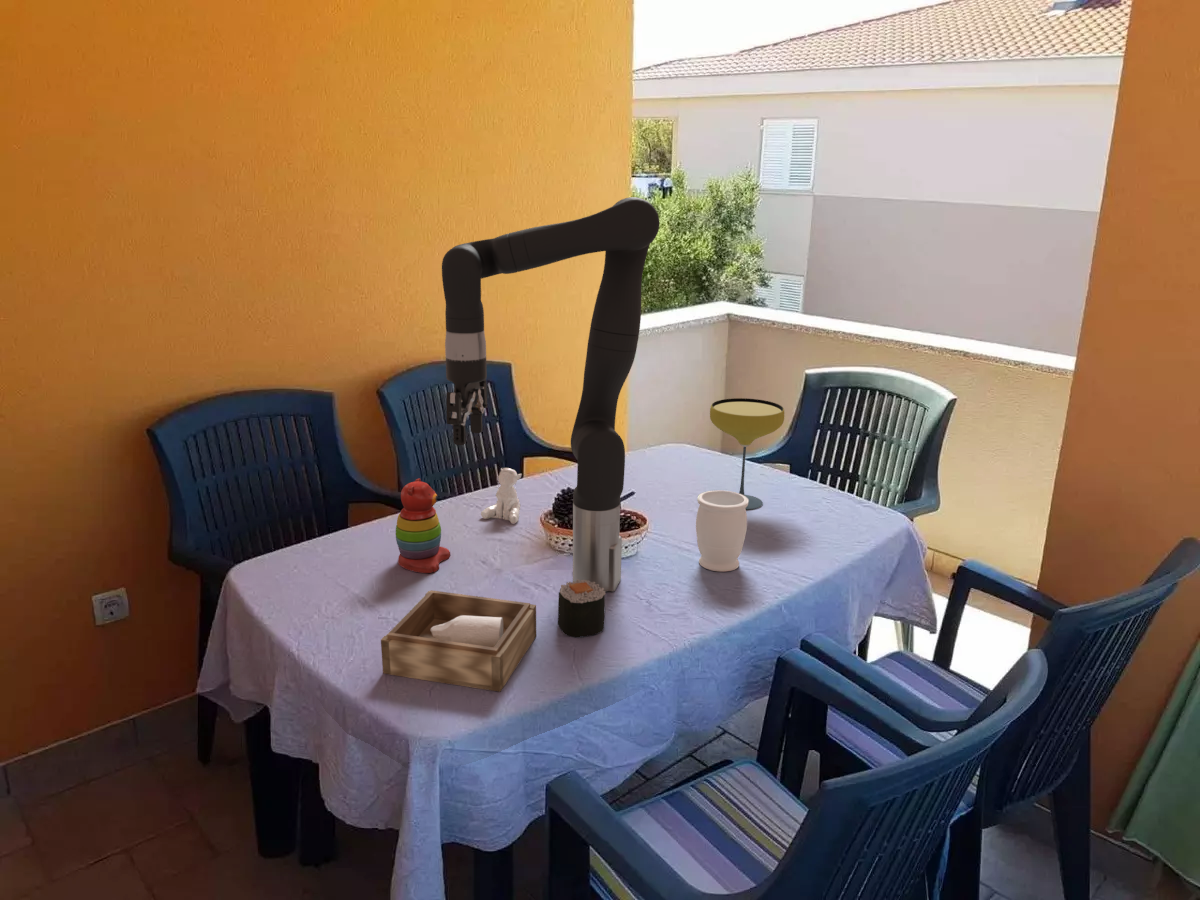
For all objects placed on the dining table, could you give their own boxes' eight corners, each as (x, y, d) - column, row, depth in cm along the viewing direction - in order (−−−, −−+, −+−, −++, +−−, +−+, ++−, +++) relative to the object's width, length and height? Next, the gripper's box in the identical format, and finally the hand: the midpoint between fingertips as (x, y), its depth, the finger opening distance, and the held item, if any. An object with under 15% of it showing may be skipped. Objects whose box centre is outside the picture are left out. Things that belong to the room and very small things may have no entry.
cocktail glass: (726, 485, 236) (731, 394, 229) (789, 500, 226) (797, 405, 219) (692, 504, 222) (696, 408, 215) (757, 521, 212) (764, 420, 205)
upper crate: (530, 633, 157) (530, 603, 155) (497, 684, 141) (496, 650, 139) (432, 620, 161) (430, 590, 159) (389, 667, 146) (387, 634, 144)
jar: (749, 559, 191) (754, 494, 186) (736, 578, 182) (740, 510, 177) (702, 550, 195) (706, 486, 190) (687, 568, 186) (690, 501, 181)
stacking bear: (434, 574, 181) (430, 492, 176) (388, 569, 183) (383, 488, 178) (453, 553, 191) (450, 475, 186) (409, 549, 193) (405, 472, 188)
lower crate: (536, 636, 158) (536, 604, 156) (500, 691, 141) (499, 657, 139) (430, 621, 162) (428, 590, 160) (382, 673, 145) (380, 639, 143)
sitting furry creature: (479, 518, 211) (478, 471, 207) (496, 507, 219) (495, 460, 215) (515, 524, 208) (514, 476, 204) (531, 512, 216) (530, 465, 212)
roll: (435, 637, 153) (433, 608, 152) (504, 639, 153) (503, 609, 152) (427, 655, 148) (426, 625, 146) (499, 657, 148) (498, 626, 146)
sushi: (569, 641, 156) (569, 600, 154) (552, 620, 164) (552, 580, 161) (611, 632, 159) (612, 592, 157) (593, 612, 167) (593, 573, 164)
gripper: (470, 363, 157) (472, 450, 162) (498, 349, 171) (499, 430, 175) (431, 360, 159) (434, 447, 164) (461, 346, 172) (464, 427, 177)
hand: (468, 438), depth 170 cm, fingers open, 8 cm apart
